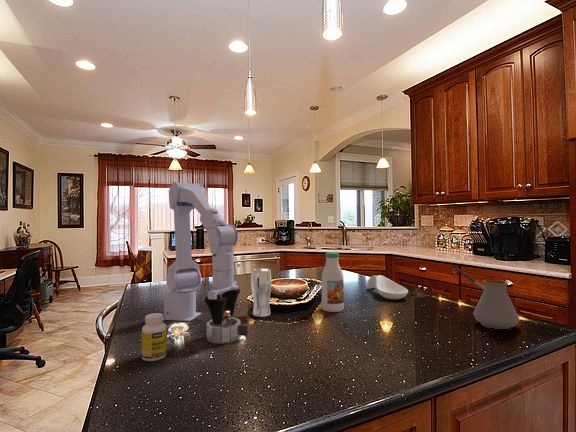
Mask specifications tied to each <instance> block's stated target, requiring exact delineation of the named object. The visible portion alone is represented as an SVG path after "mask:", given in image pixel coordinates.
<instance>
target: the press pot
mask: <svg viewBox="0 0 576 432" xmlns="http://www.w3.org/2000/svg"><path fill="white" fill-rule="evenodd" d="M241 322H242V320H241V319H239V318H237V317H232V316H230V317H229V318H226V327H222V324H221V325H219V324H214V323H213V320H212V319H210V320H209V321H207V322H206V340H207V342H209V343H211V344H230V343H233V342H236V341H238V340H239V339H240V338H241V337H242V336H245V337H247V336H248V335H249V324H242V323H241Z"/></svg>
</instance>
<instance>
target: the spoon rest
mask: <svg viewBox="0 0 576 432" xmlns="http://www.w3.org/2000/svg"><path fill="white" fill-rule="evenodd" d="M372 288H374V289H376V290H377V292H378V294H379V295H380V296H381V297H383V298H384V299H386V300H393V301H394V300H397V301H398V300H401V299H403V298H404V297H406V296H407V295H408V294H409V290H408V289H407V288H406V287H404V286H402V285H400V284H398V283H397V282H395V281H393V280H391V279H390V278H388V277H386V276H384V275H382V274H381V275H380V274H379V275H372V276H371V277H369V279H368V280H367V284H366V289H369V290H370V289H371V290H372Z"/></svg>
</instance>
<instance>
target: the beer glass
mask: <svg viewBox="0 0 576 432" xmlns="http://www.w3.org/2000/svg"><path fill="white" fill-rule="evenodd" d="M272 287H273V286H272V269H271V268H267V267H256V268H252V269H251V273H250V289H251V290H250V291H251V294H252V300H253V309H252V316H253V317H257V318H264V317H268V316H270V315H271V307H270V299H271V294H272Z"/></svg>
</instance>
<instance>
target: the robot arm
mask: <svg viewBox="0 0 576 432" xmlns="http://www.w3.org/2000/svg"><path fill="white" fill-rule="evenodd" d="M168 204H169V209H171V210H172V211H173V218H174V219H173V221H174V223H173V224H174V241H175V243H174V244H175V261H174V262H172V263H171V264H170V265H169V266H168V267H167V275H166V285H167V289H169V290H168V291H167V292H166V293H165V294H164V300H163V303H164V305H163V308H164V309H163V310H164V312H163V321H165V320H167V321H177V322H179V321H180V322H182V321H183V322H190V321H192V320H194V319H195V318H197V317H198V316H200V315H202V313H201V312H197V307H196V305H197V304H196V303H197V301H196V296H197V294H196V290H198V288H199V287H200V285H201V283H202V274H201V271H200V265H199V264H198V263H197V262H195V261H194V260H193V258H192V257H193V256H192V239H191V238H192V237H191V234H192V233H191V232H192V231H191V216H190V215H191V211H193V210H196V211H197V212H198V213H199V214H200V216H199V222H200V224H202V226H203V228H204V229H205V230H206V232H207V234H208V235H207V241H208V245H209V251H210V254H211V255H212V256H211V257H212V259H211V260H212V261H211V262H212V266H211V267H212V286H210V290H208V292H207V296H206V297H204V302H205V304H206V306H207V307H208V310H209V311H210V315H211V318H212V319H211V320H213V323H214V324H219V325H221V324H222V321H223V313H224V309H229V310H230V317H232V316H233V315H234V312H235V307H236V302H237V300H238V298H239V297H238V296H239V295H240V292H241V289H240V288H239V285H237V280H235V271H234V270H235V269H234V268H235V262H234V257H235V256H234V253H235V252H234V246H236V245H237V242H238V238H239V234H238V230H237V229H236V226H235V225H234V224H230V223H227V222H226V221H225V219H224V218H223V216H222V215H221V214H220V212H219V210H218V209H217V208H214V207H213V208H212V206H210V204H209V202H208V200H207V198H206V189H205V187H204V185H203V184H202V183H191V182H190V183H188V182H177V181H173V182H172V183H171V185H170V186H169V190H168Z"/></svg>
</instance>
